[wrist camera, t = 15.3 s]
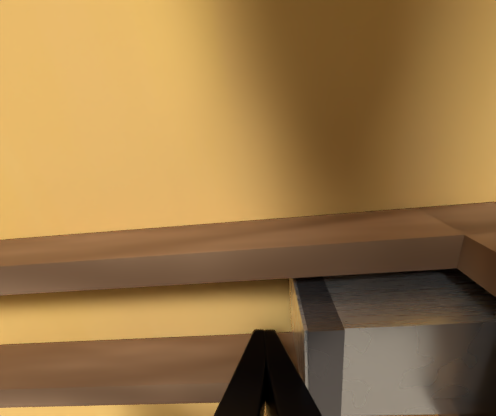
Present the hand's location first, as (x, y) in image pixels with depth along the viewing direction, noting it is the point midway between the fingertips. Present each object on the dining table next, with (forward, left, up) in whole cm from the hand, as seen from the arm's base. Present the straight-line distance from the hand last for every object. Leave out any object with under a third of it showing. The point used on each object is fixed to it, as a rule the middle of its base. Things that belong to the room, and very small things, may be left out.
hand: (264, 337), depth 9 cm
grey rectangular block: (0, +6, -2) cm, 6 cm away
